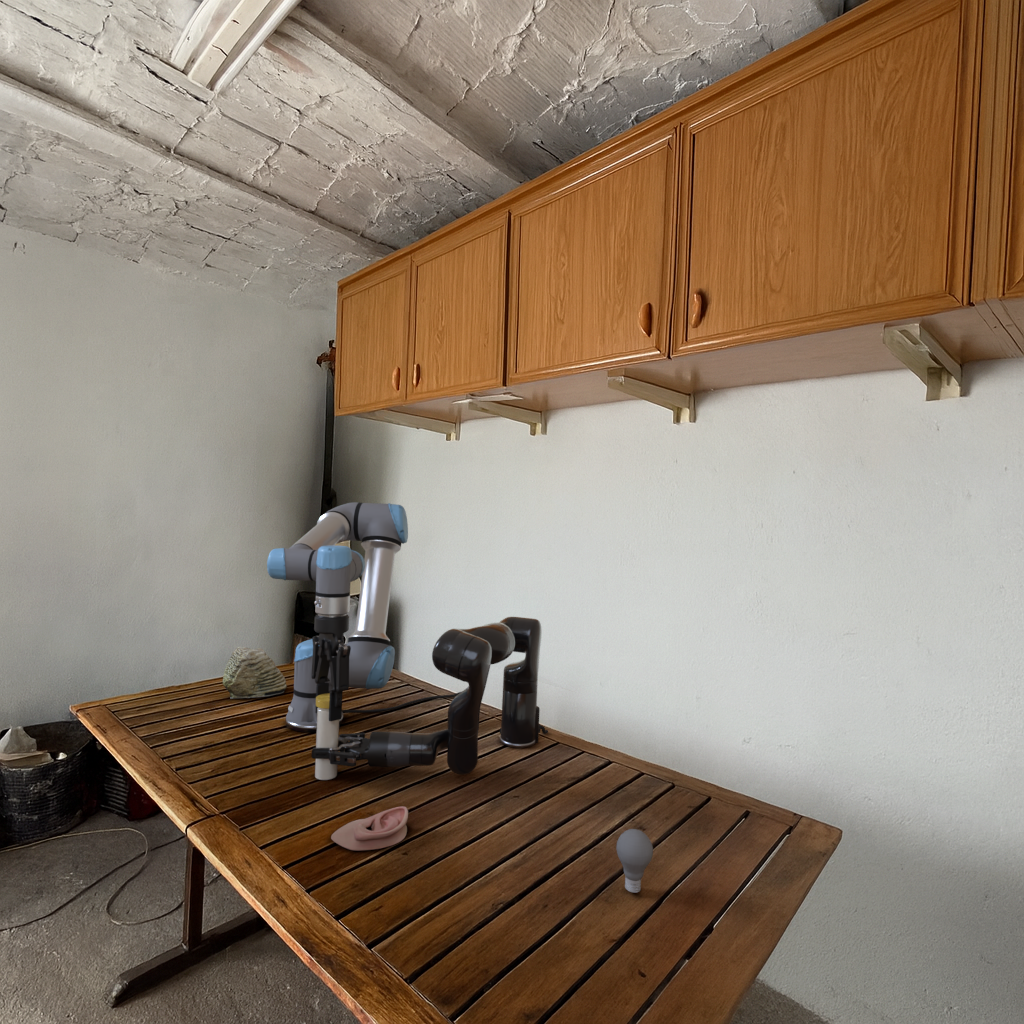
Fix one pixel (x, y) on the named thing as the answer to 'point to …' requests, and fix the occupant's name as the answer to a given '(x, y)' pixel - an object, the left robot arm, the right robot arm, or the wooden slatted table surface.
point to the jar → (326, 744)
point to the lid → (323, 701)
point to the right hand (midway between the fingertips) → (315, 748)
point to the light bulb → (634, 857)
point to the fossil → (252, 674)
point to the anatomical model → (374, 830)
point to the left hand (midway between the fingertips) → (328, 715)
